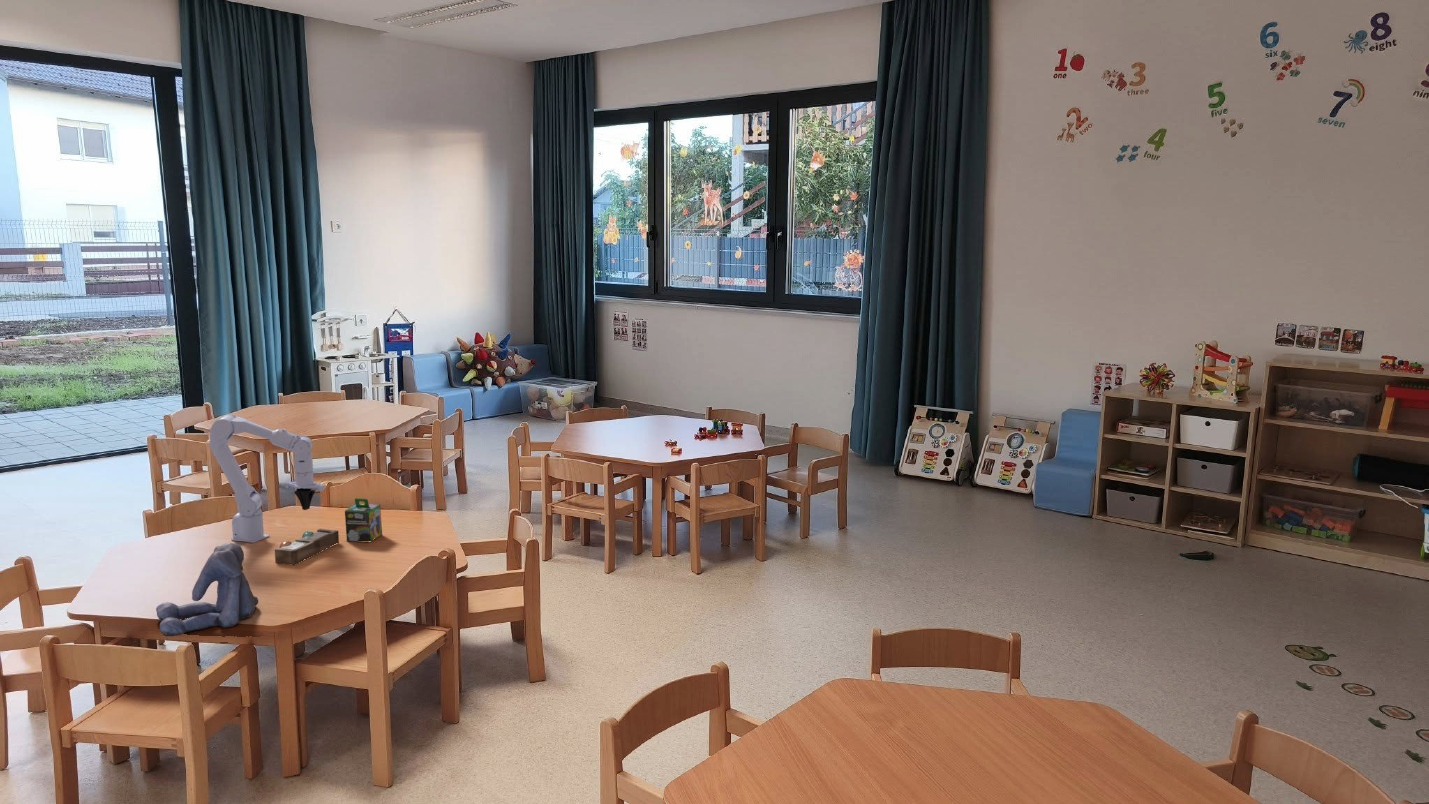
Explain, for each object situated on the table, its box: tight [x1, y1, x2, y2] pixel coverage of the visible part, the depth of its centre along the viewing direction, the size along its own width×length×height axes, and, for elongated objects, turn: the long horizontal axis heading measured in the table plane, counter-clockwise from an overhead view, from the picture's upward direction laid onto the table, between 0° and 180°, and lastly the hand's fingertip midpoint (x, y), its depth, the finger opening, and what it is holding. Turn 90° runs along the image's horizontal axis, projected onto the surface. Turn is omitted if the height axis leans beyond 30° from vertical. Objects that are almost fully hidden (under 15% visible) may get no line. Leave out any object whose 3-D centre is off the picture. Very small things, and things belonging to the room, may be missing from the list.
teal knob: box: [301, 530, 329, 539], centre depth 314 cm, size 7×7×5 cm
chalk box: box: [344, 497, 383, 542], centre depth 323 cm, size 9×9×15 cm
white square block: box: [278, 540, 307, 549], centre depth 303 cm, size 7×7×5 cm
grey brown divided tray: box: [274, 528, 340, 566], centre depth 308 cm, size 7×23×5 cm, turn 166°
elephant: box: [155, 542, 259, 637], centre depth 252 cm, size 21×25×21 cm
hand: (306, 509), depth 324 cm, fingers closed
